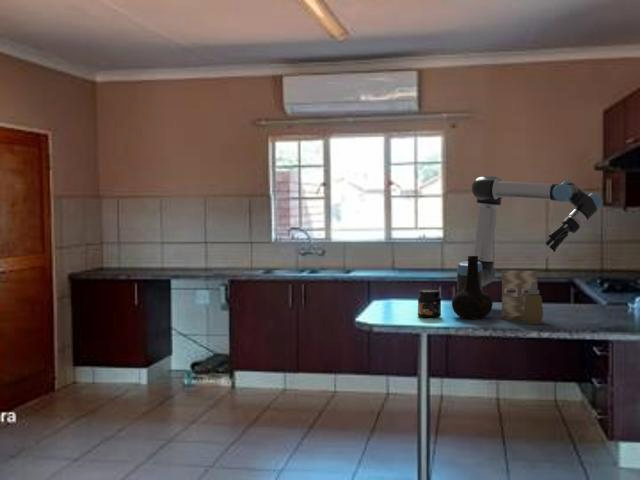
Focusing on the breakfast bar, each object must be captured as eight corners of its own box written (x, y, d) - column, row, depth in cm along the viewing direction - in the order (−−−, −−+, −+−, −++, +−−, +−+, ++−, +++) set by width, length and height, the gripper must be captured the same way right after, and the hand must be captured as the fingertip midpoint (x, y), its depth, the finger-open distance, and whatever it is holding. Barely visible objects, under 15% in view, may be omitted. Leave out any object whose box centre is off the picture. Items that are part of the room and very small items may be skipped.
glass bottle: (450, 320, 333) (450, 256, 332) (453, 314, 350) (454, 254, 349) (491, 321, 328) (491, 257, 327) (493, 315, 346) (493, 254, 344)
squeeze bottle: (541, 322, 325) (541, 280, 324) (545, 325, 317) (545, 282, 316) (522, 322, 326) (522, 280, 325) (525, 325, 318) (525, 282, 317)
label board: (501, 319, 334) (502, 271, 333) (501, 317, 339) (502, 270, 338) (537, 320, 330) (537, 271, 329) (536, 318, 336) (536, 270, 335)
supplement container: (413, 317, 342) (413, 291, 341) (424, 314, 350) (424, 289, 349) (434, 319, 335) (434, 292, 335) (445, 316, 344) (445, 290, 343)
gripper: (582, 218, 330) (548, 252, 330) (579, 235, 353) (547, 267, 353) (568, 207, 333) (535, 241, 333) (566, 225, 356) (534, 256, 356)
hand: (541, 254), depth 343 cm, fingers open, 13 cm apart
